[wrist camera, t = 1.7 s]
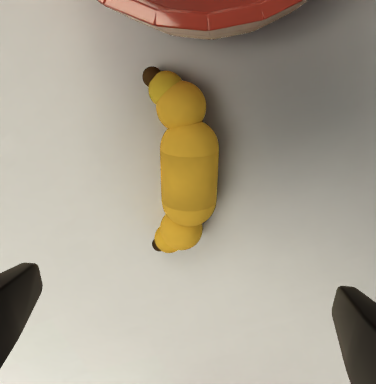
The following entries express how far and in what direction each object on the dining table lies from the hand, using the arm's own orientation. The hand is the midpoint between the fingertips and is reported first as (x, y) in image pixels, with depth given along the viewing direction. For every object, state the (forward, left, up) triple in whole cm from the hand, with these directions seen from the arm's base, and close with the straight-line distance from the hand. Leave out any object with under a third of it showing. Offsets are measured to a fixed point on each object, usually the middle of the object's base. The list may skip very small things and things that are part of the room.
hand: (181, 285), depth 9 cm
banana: (0, 0, -12) cm, 12 cm away
